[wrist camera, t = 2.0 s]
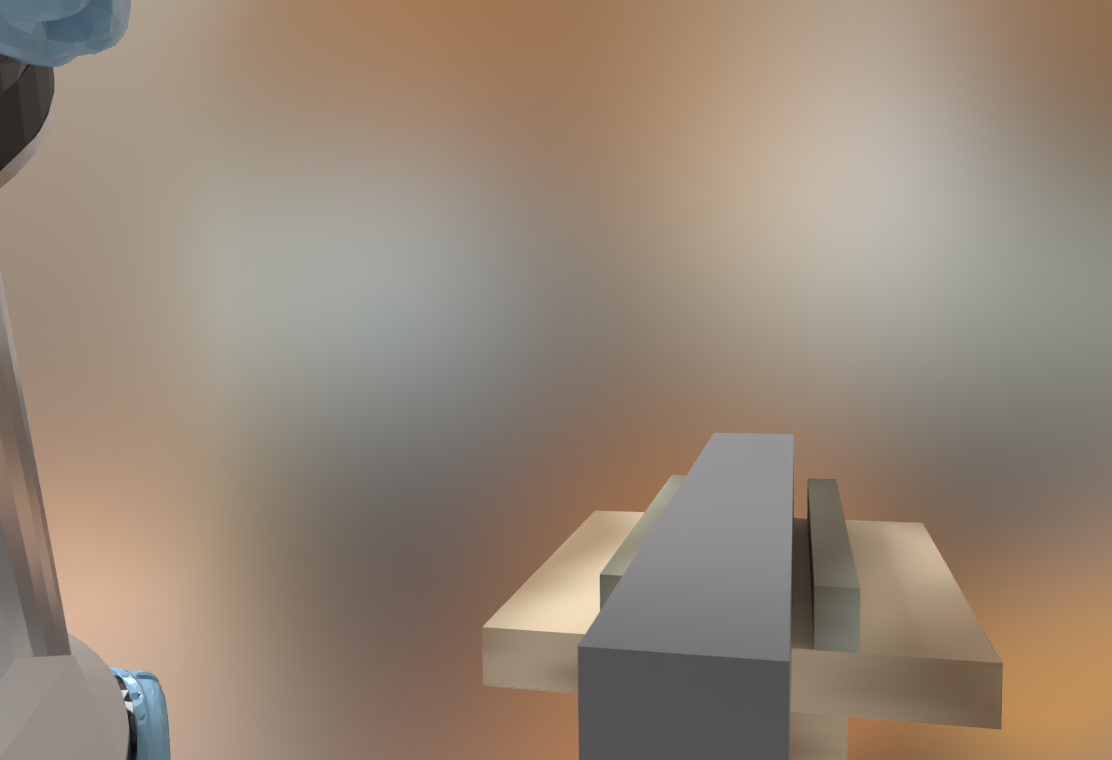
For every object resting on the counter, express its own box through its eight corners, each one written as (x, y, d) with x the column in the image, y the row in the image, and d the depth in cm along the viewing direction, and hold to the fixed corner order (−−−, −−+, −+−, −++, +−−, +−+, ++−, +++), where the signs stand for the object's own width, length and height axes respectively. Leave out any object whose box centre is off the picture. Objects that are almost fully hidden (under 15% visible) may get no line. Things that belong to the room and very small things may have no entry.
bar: (580, 843, 14) (577, 646, 14) (714, 509, 38) (713, 433, 37) (788, 869, 14) (788, 661, 13) (793, 512, 37) (794, 434, 37)
